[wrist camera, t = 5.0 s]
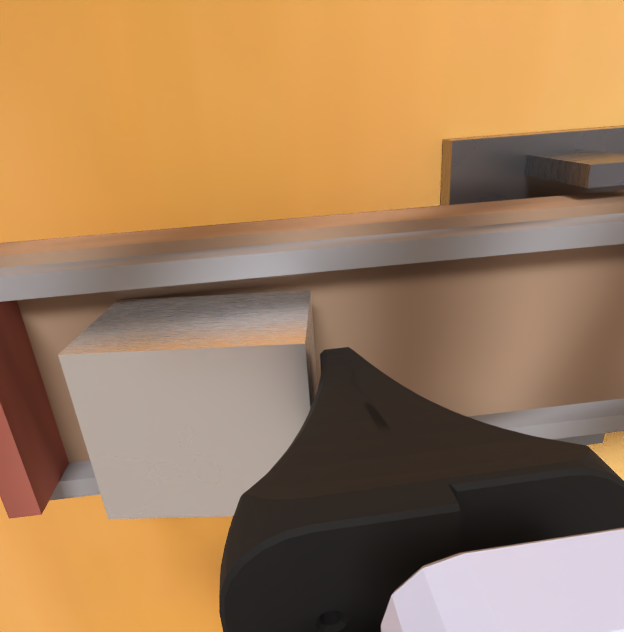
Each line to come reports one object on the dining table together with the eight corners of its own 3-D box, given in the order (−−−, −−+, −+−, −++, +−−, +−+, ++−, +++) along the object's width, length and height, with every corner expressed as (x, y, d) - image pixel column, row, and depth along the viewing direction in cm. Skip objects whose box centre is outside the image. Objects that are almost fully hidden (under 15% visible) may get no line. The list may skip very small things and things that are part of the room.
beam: (794, 175, 15) (942, 193, 12) (729, 381, 18) (834, 440, 14) (-2, 243, 13) (-85, 285, 10) (67, 457, 16) (19, 544, 13)
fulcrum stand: (642, 124, 17) (754, 128, 13) (592, 387, 21) (667, 447, 17) (442, 139, 16) (501, 147, 12) (432, 408, 20) (473, 474, 16)
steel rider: (310, 290, 12) (305, 343, 10) (321, 433, 14) (318, 513, 11) (117, 300, 13) (57, 354, 10) (150, 439, 14) (108, 518, 12)
